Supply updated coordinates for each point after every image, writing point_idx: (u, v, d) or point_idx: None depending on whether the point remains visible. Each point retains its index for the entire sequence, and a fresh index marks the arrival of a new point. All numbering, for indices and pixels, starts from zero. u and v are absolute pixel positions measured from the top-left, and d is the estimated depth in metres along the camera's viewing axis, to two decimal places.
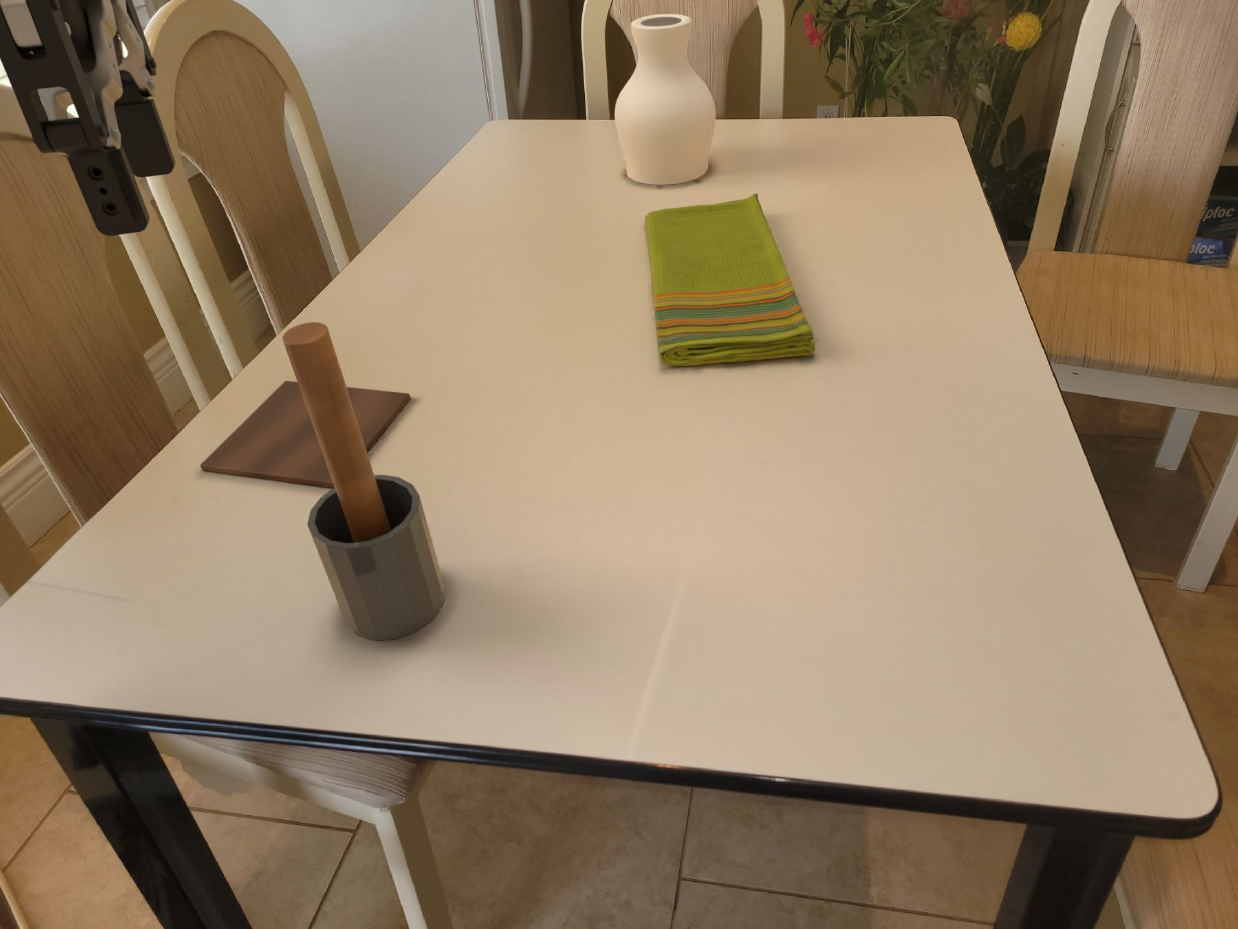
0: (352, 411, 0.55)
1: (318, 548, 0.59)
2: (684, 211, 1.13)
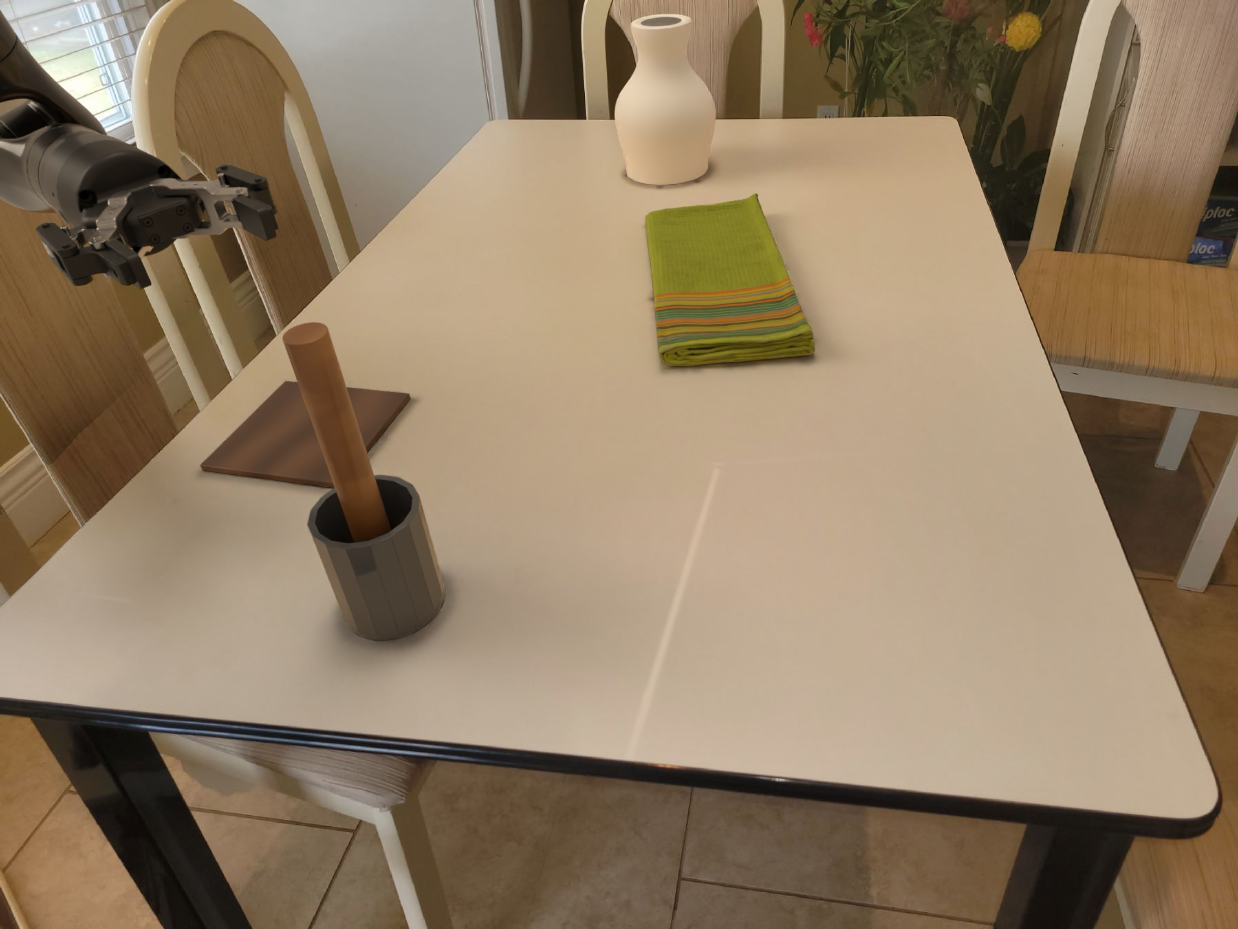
0: (352, 411, 0.55)
1: (318, 548, 0.59)
2: (685, 211, 1.13)
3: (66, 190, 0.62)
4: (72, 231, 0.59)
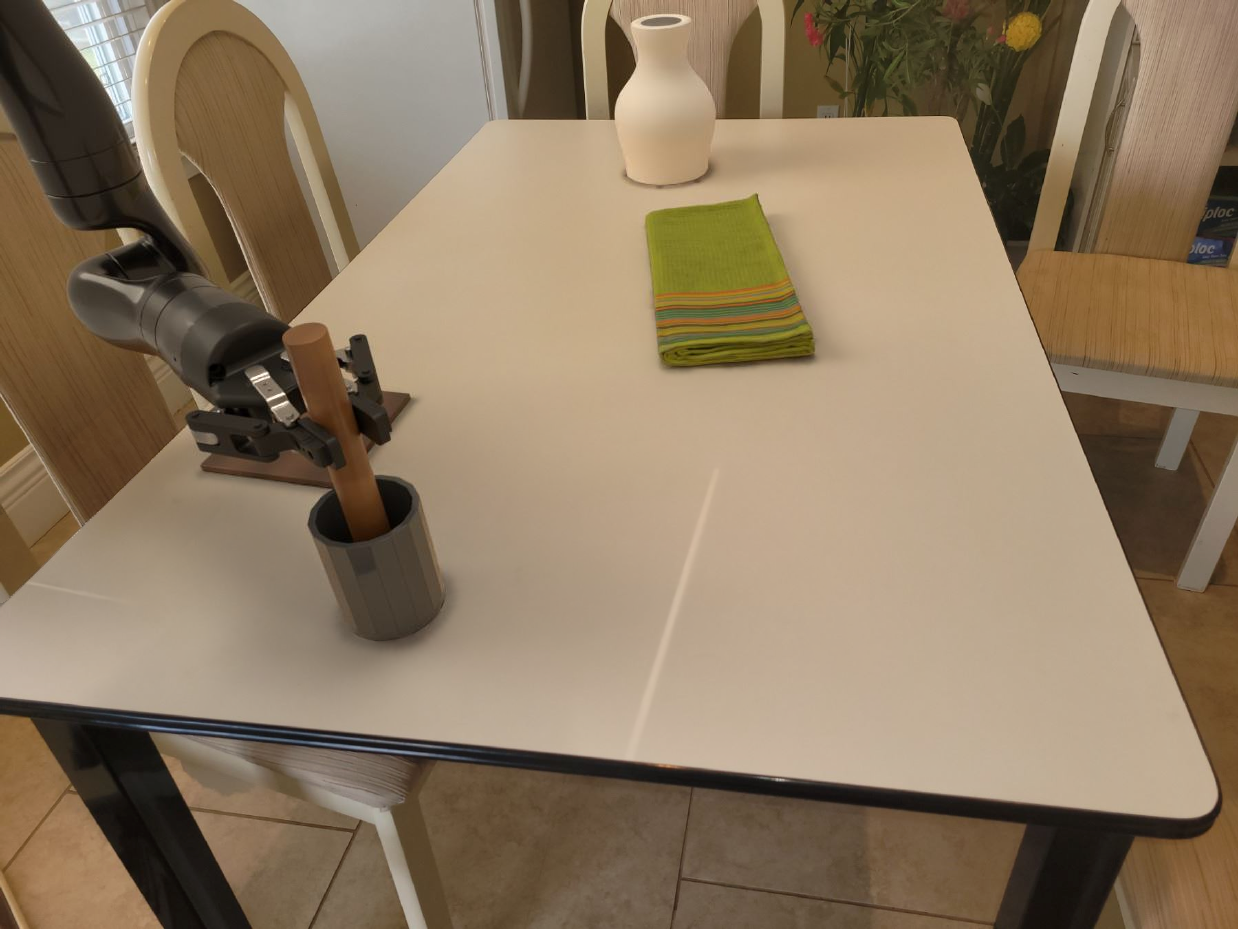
0: (352, 411, 0.55)
1: (318, 548, 0.59)
2: (685, 211, 1.13)
3: (193, 360, 0.60)
4: None
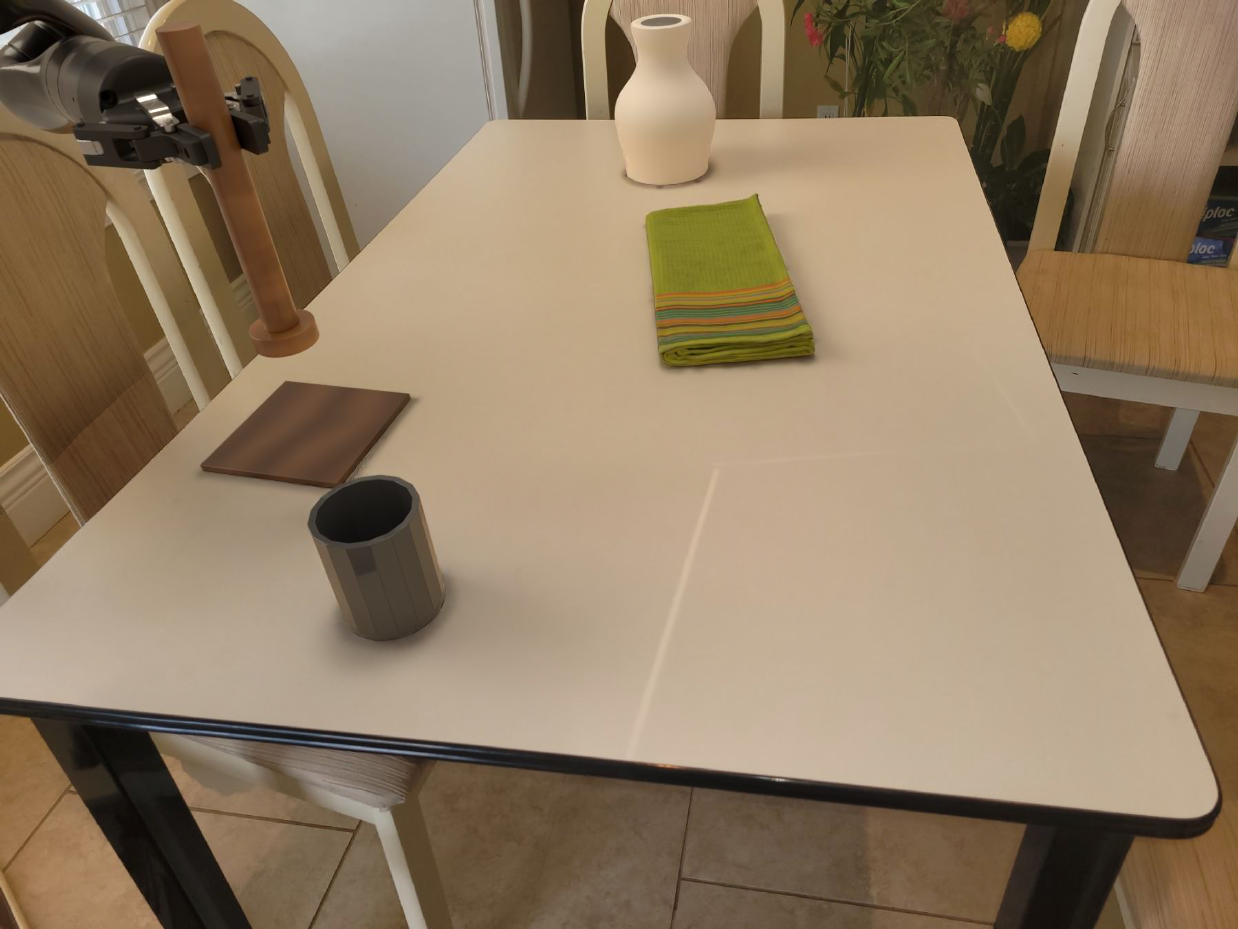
0: (230, 119, 0.57)
1: (318, 548, 0.59)
2: (685, 211, 1.13)
3: (87, 92, 0.62)
4: None
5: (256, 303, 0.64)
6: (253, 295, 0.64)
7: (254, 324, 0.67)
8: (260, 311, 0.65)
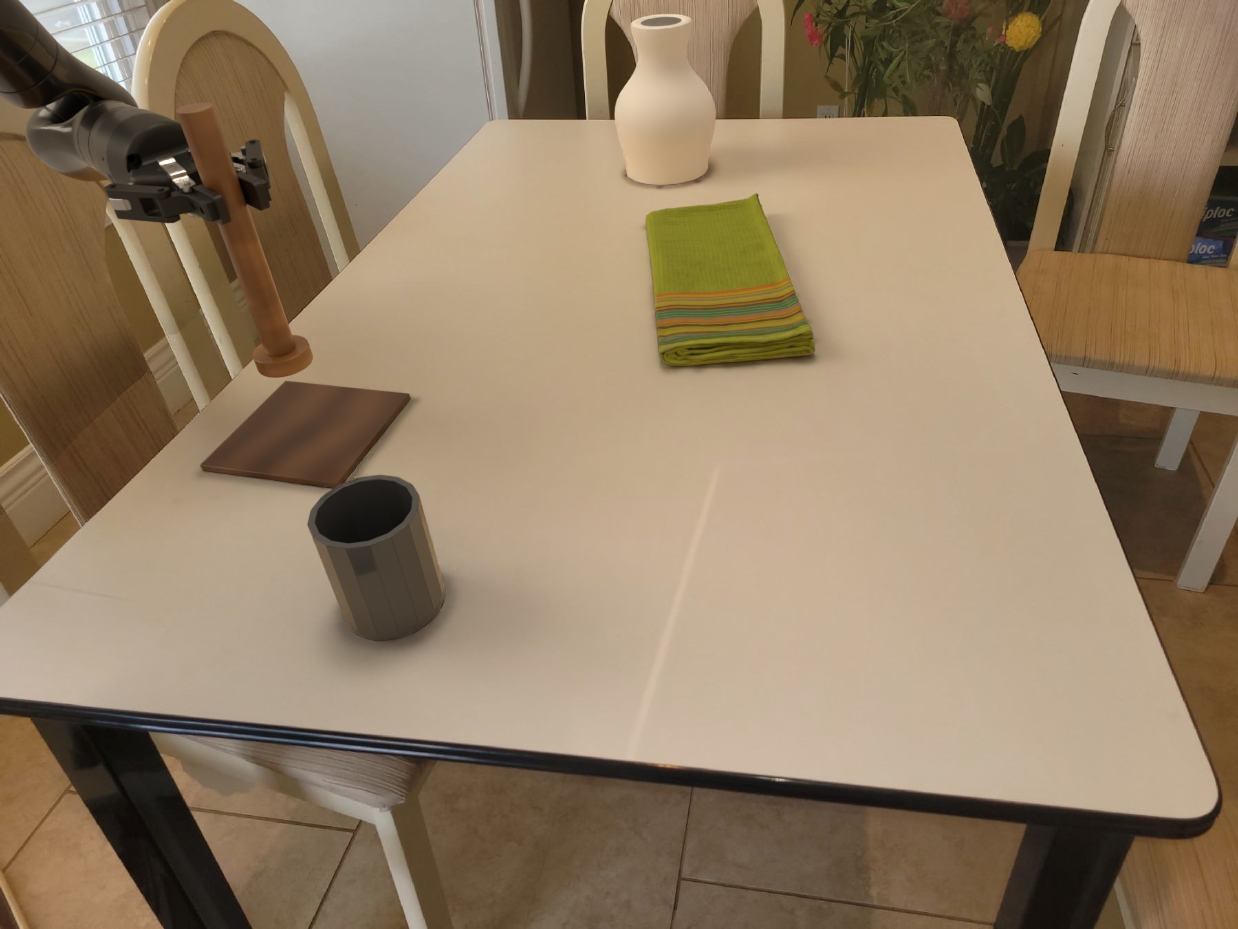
0: (237, 181, 0.69)
1: (318, 548, 0.59)
2: (685, 211, 1.13)
3: (115, 154, 0.73)
4: None
5: (259, 331, 0.76)
6: (256, 325, 0.75)
7: (257, 349, 0.78)
8: (262, 338, 0.76)
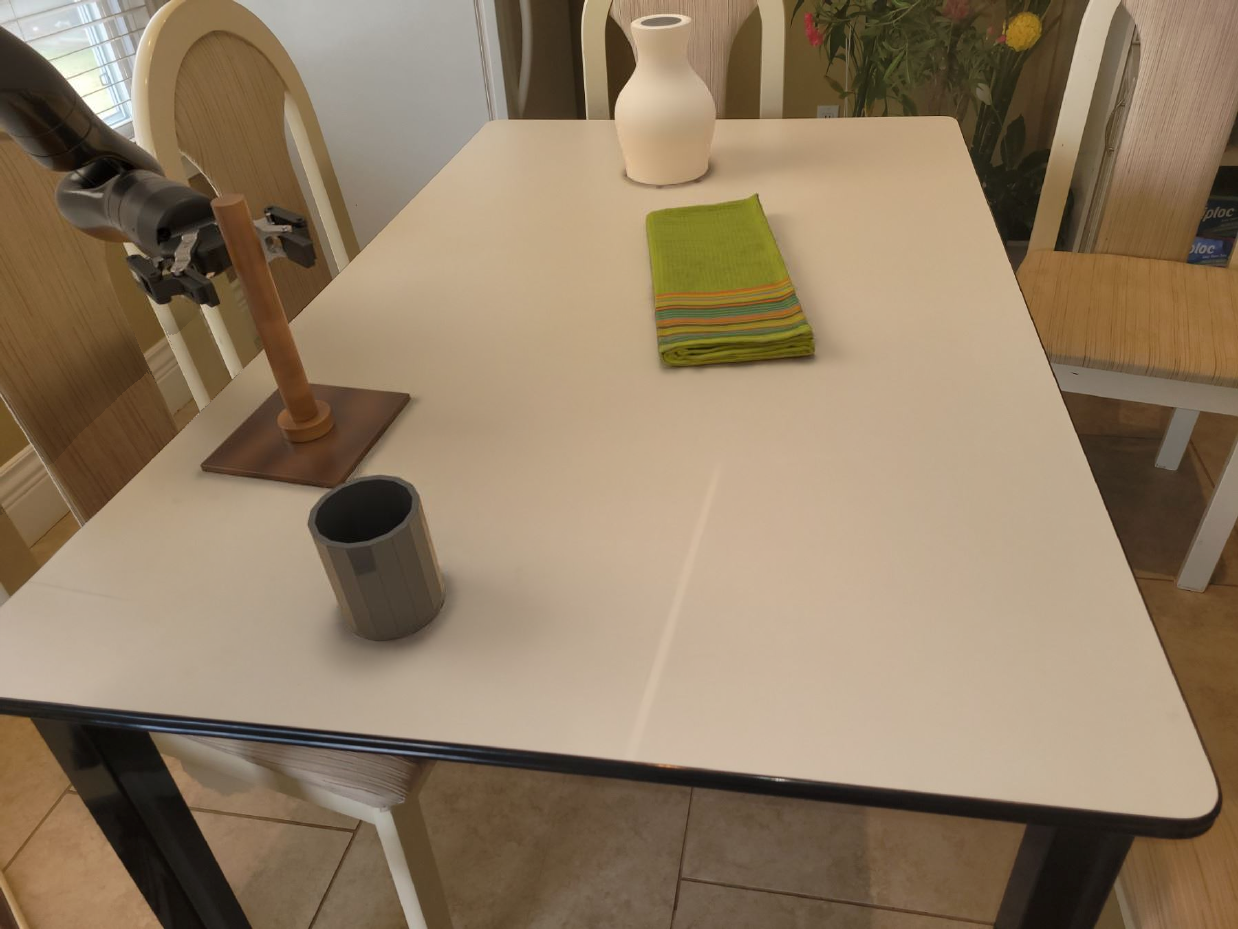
0: (266, 264, 0.73)
1: (318, 548, 0.59)
2: (685, 211, 1.13)
3: (146, 227, 0.77)
4: (153, 261, 0.75)
5: (284, 399, 0.80)
6: (282, 393, 0.80)
7: (281, 414, 0.82)
8: (287, 406, 0.80)
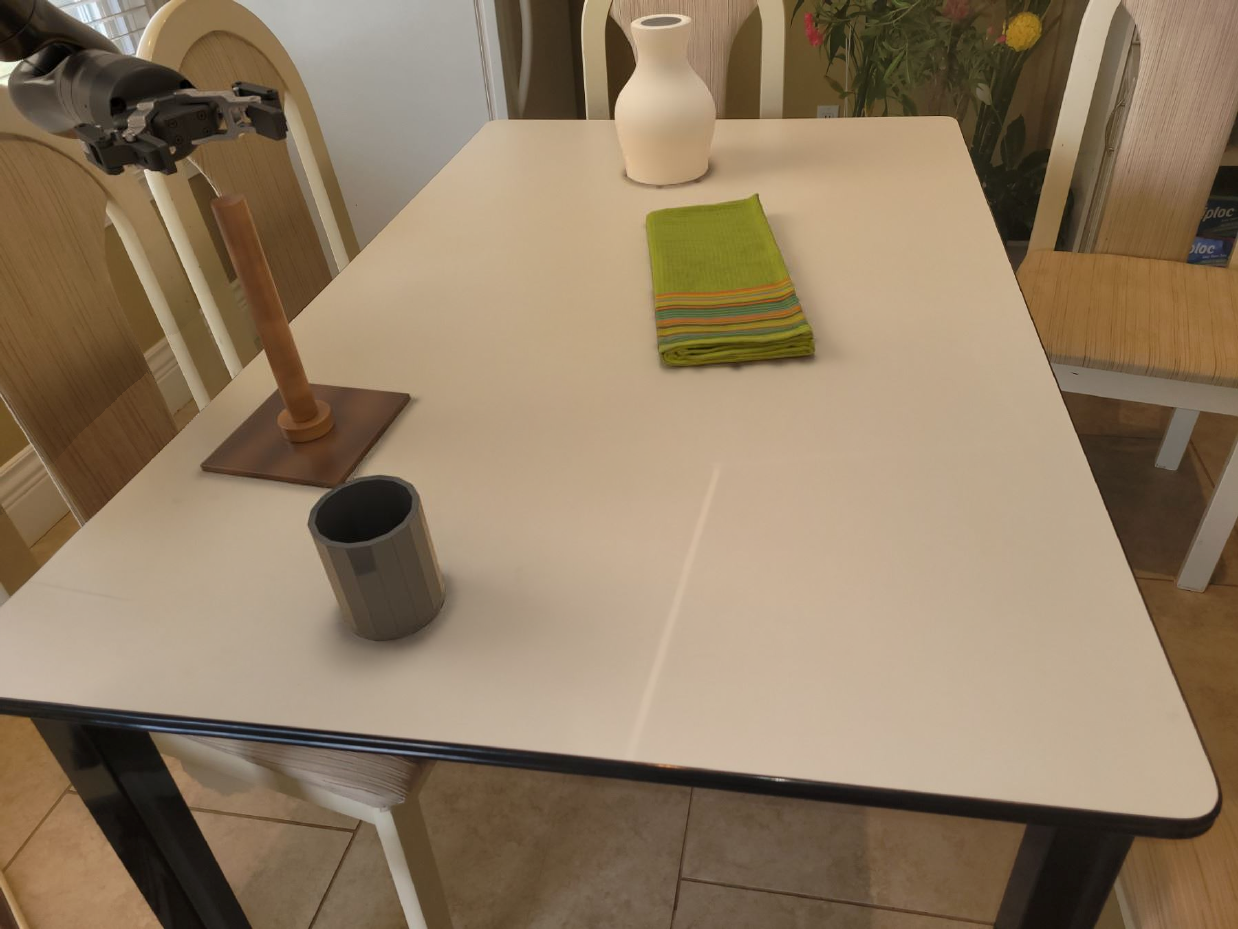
0: (266, 264, 0.73)
1: (318, 548, 0.59)
2: (685, 210, 1.13)
3: (98, 99, 0.69)
4: (105, 132, 0.67)
5: (284, 399, 0.80)
6: (282, 393, 0.80)
7: (281, 414, 0.82)
8: (287, 406, 0.80)
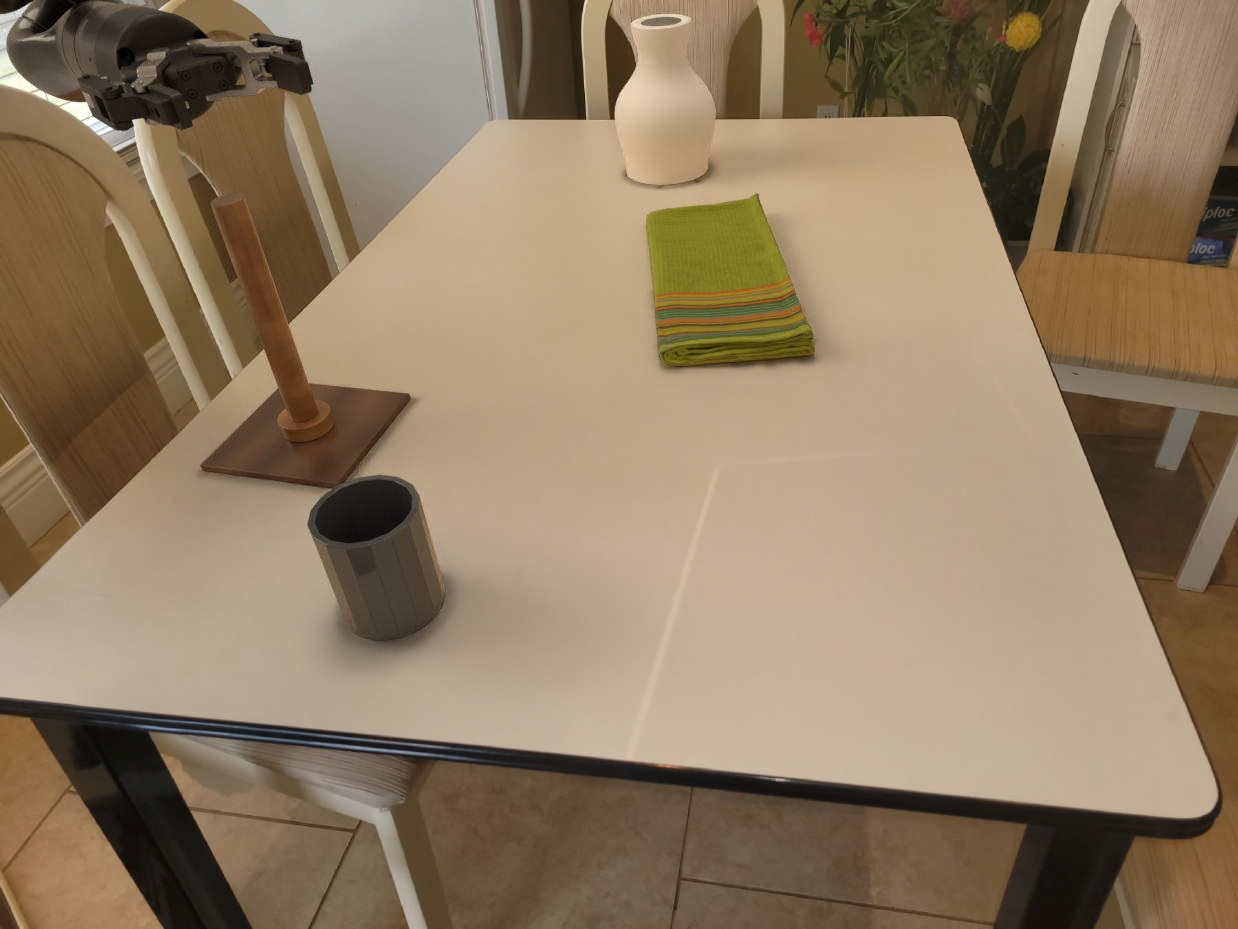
0: (266, 264, 0.73)
1: (318, 548, 0.59)
2: (686, 211, 1.13)
3: (104, 50, 0.63)
4: None
5: (284, 399, 0.80)
6: (282, 393, 0.80)
7: (281, 414, 0.82)
8: (287, 406, 0.80)
